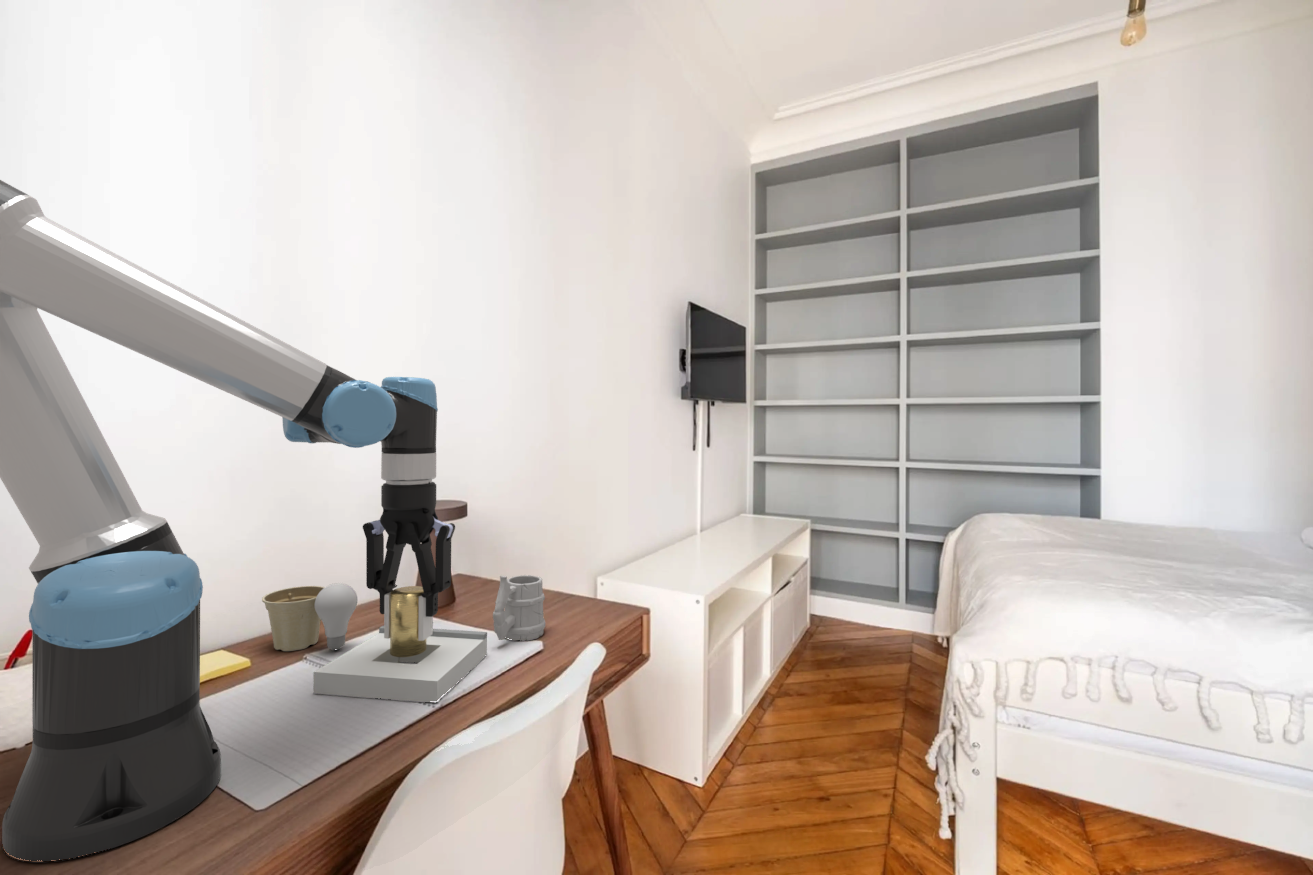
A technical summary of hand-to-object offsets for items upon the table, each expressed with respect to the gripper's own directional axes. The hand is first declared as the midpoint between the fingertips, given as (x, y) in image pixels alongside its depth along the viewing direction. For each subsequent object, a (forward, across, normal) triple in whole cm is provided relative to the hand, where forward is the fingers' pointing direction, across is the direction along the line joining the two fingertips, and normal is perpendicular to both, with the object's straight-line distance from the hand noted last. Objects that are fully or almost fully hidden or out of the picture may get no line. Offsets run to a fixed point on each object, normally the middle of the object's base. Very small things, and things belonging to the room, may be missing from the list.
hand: (408, 635), depth 84 cm
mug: (+6, -11, -16) cm, 20 cm away
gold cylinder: (+2, 0, 0) cm, 2 cm away
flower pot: (+6, +24, -7) cm, 26 cm away
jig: (+6, 0, 0) cm, 6 cm away
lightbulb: (+6, +16, -6) cm, 18 cm away
